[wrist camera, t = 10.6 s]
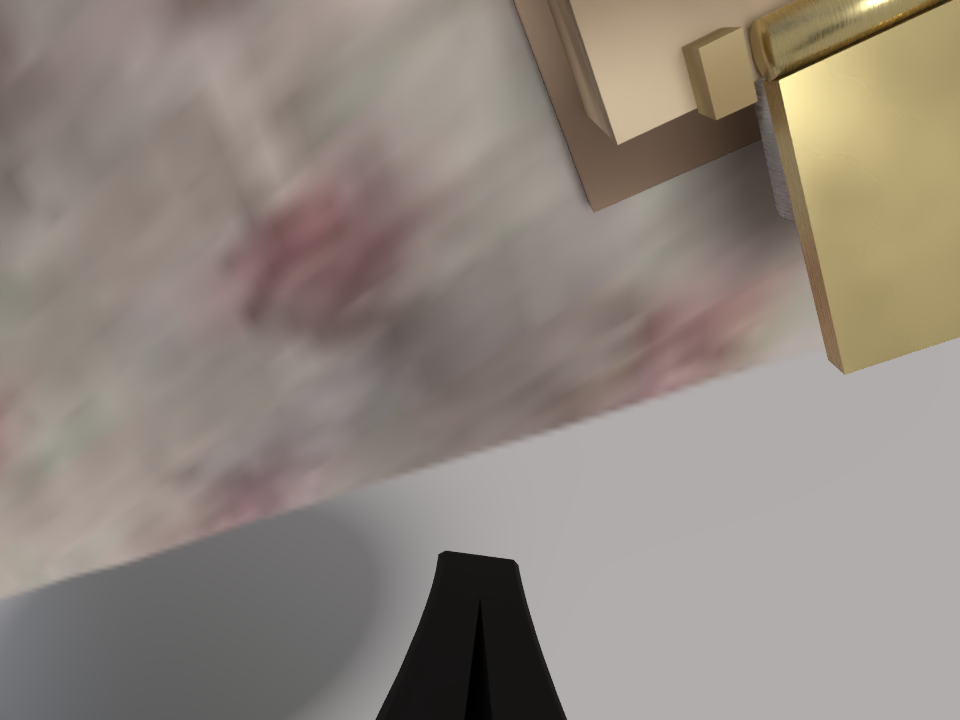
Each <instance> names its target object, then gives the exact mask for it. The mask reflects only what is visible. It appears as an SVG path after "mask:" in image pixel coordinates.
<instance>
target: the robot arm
mask: <svg viewBox="0 0 960 720" xmlns="http://www.w3.org/2000/svg"><path fill="white" fill-rule="evenodd" d="M376 720H567V718H566V716H565V713H564V711H563V708H562V706H561V703H560V700H559V698H558V695H557V692H556V690H555V687H554V684H553V681H552V679H551V676H550V673H549V670H548V668H547V665H546V662H545V659H544V656H543V653H542V651H541V647H540V644H539V641H538V638H537V635H536V632H535V629H534V625H533V622H532V619H531V615H530V612H529V608H528V605H527V601H526V598H525V594H524V590H523V585H522V581H521V576H520V572H519V566H518V564H517V563H516V562H515V561H514V560H511V559H504V558H496V557H488V556H482V555H473V554H467V553H459V552H452V551H444V552H442V553H440V554H439V555H438V561H437V567H436V572H435V577H434V580H433V584H432V588H431V591H430V594H429V597H428V600H427V603H426V606H425V609H424V612H423V615H422V617H421V620H420V623H419V625H418V628H417V630H416V633H415V635H414V637H413V640H412V642H411V644H410V647H409V649H408V652H407V654H406V656H405V659H404V661H403V663H402V666H401V668H400V670H399V672H398V675H397V677H396V679H395V681H394V683H393V685H392V687H391V689H390V691H389V693H388V695H387V697H386V699H385V701H384V703H383V705H382V708H381V709H380V711H379V714H378V716H377V718H376Z"/></svg>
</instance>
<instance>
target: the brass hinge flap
mask: <svg viewBox="0 0 960 720" xmlns="http://www.w3.org/2000/svg"><path fill="white" fill-rule="evenodd" d="M750 36H751V47H752V52H753V56H754V59H755V62H756V65H757V67H758V69H759V71H760V73H761V74H762V75H763V77H764V78H765V79H766V80H764V81H763V85H764V89H765V94H766V98H767V102H768V106H769V111H770V115H771V119H772V123H773V128H774V132H775V136H776V140H777V145H778V149H779V153H780V157H781V162H782V166H783V170H784V174H785V179H786V183H787V187H788V191H789V196H790V200H791V204H792V208H793V213H794V217H795V221H796V225H797V230H798V234H799V238H800V242H801V247H802V251H803V255H804V259H805V264H806V268H807V272H808V276H809V281H810V285H811V289H812V293H813V298H814V302H815V306H816V310H817V315H818V319H819V323H820V327H821V332H822V336H823V340H824V344H825V349H826V353H827V357H828V360H829V361H830V362H831V363H832V364H833V365H834V366H836V367H837V368H838V369H839V370H840V371H841V372H842V373H843V374H848V373H851V372H854V371H857V370H860V369H864V368H867V367H870V366H873V365H876V364H879V363H882V362H885V361H888V360H891V359H894V358H897V357H900V356H903V355H906V354H909V353H912V352H915V351H918V350H921V349H924V348H927V347H930V346H933V345H937V344H940V343H943V342H946V341H949V340H952V339H955V338H958V337H960V0H796V1H794V2H792V3H790V4H787V5H785V6H783V7H781V8H779V9H777V10H775V11H773V12H771V13H769V14H767V15H765V16H763V17H761V18H759V19H757V20H755V21H754V22H753V24H752V27H751V34H750Z"/></svg>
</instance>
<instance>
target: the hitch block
mask: <svg viewBox="0 0 960 720" xmlns="http://www.w3.org/2000/svg"><path fill="white" fill-rule="evenodd" d="M513 1H514V4H515V7H516V9H517V12H518V15H519V17H520V20H521V23H522V25H523V28H524V31H525V33H526V36H527V39H528V41H529V44H530V47H531V49H532V52H533V55H534V57H535V60H536V63H537V65H538V68H539V71H540V73H541V76H542V79H543V81H544V84H545V87H546V89H547V92H548V95H549V97H550V100H551V103H552V105H553V108H554V111H555V113H556V116H557V119H558V121H559V124H560V127H561V129H562V132H563V135H564V137H565V140H566V143H567V145H568V148H569V151H570V153H571V156H572V159H573V161H574V164H575V167H576V169H577V172H578V175H579V177H580V180H581V183H582V185H583V188H584V191H585V193H586V196H587V199H588V201H589V204H590V206H591V208H592V210H593V212H596V211H599V210H601V209H603V208H605V207H608V206H610V205H612V204H615V203H617V202H619V201H621V200H624V199H626V198H628V197H630V196H633V195H635V194H637V193H640V192H642V191H644V190H646V189H649V188H651V187H653V186H655V185H658V184H660V183H662V182H665V181H667V180H669V179H671V178H674V177H676V176H678V175H681V174H683V173H685V172H687V171H690V170H692V169H694V168H696V167H699V166H701V165H703V164H706V163H708V162H710V161H712V160H715V159H717V158H719V157H721V156H724V155H726V154H728V153H731V152H733V151H735V150H737V149H740V148H742V147H744V146H746V145H749V144H751V143H753V142H756V141H758V140H760V139H762V138H761V133H760V128H759V124H758V119H757V114H756V109H755V105H754V103H755V102H758V100H757V95H756V90H755V85H754V81H756V80H759V79H761V78H763V75H762V74H761V73H760V71H759V69H758V67H757V65H756V62H755V59H754V56H753V52H752V47H751V36H750V34H751V27H752V24H753V22H754V21H755V20H757V19H759V18H761V17H763V16H765V15H767V14H769V13H771V12H773V11H775V10H777V9H779V8H781V7H783V6H785V5H787V4H790V3H792V2H794V1H796V0H513Z"/></svg>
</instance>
